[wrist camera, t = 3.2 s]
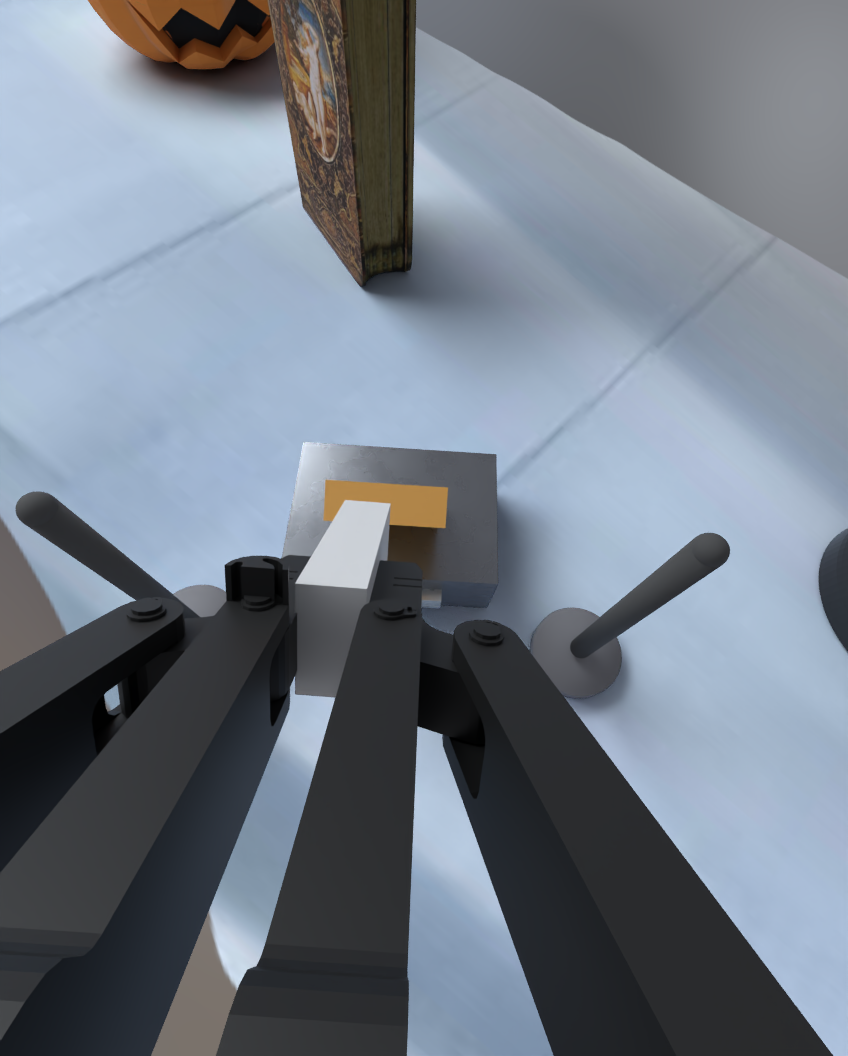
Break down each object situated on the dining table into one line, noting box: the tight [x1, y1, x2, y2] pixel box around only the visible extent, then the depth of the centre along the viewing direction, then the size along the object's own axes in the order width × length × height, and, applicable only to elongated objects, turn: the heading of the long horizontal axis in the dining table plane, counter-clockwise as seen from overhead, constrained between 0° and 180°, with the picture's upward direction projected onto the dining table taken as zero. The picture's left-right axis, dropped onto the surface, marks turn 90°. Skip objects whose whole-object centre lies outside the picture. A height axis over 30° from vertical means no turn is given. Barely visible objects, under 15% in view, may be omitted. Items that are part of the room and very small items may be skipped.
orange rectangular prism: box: [323, 480, 448, 528], centre depth 30 cm, size 2×6×10 cm, turn 88°
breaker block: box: [282, 442, 498, 608], centre depth 37 cm, size 11×14×5 cm
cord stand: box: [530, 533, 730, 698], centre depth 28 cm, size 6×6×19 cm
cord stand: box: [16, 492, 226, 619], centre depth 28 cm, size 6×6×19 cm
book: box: [268, 0, 416, 286], centre depth 44 cm, size 16×6×25 cm, turn 29°
